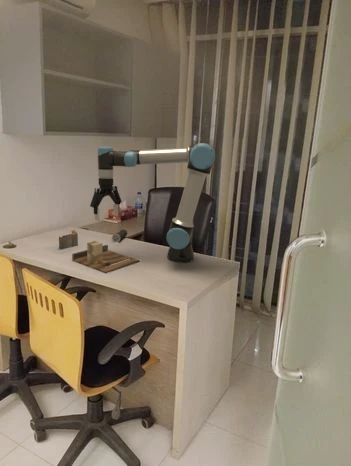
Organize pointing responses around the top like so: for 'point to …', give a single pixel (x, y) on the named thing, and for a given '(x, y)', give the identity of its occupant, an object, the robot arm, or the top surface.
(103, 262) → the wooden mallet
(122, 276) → the top surface
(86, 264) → the board
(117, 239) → the flashlight
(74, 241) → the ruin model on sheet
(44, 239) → the top surface
